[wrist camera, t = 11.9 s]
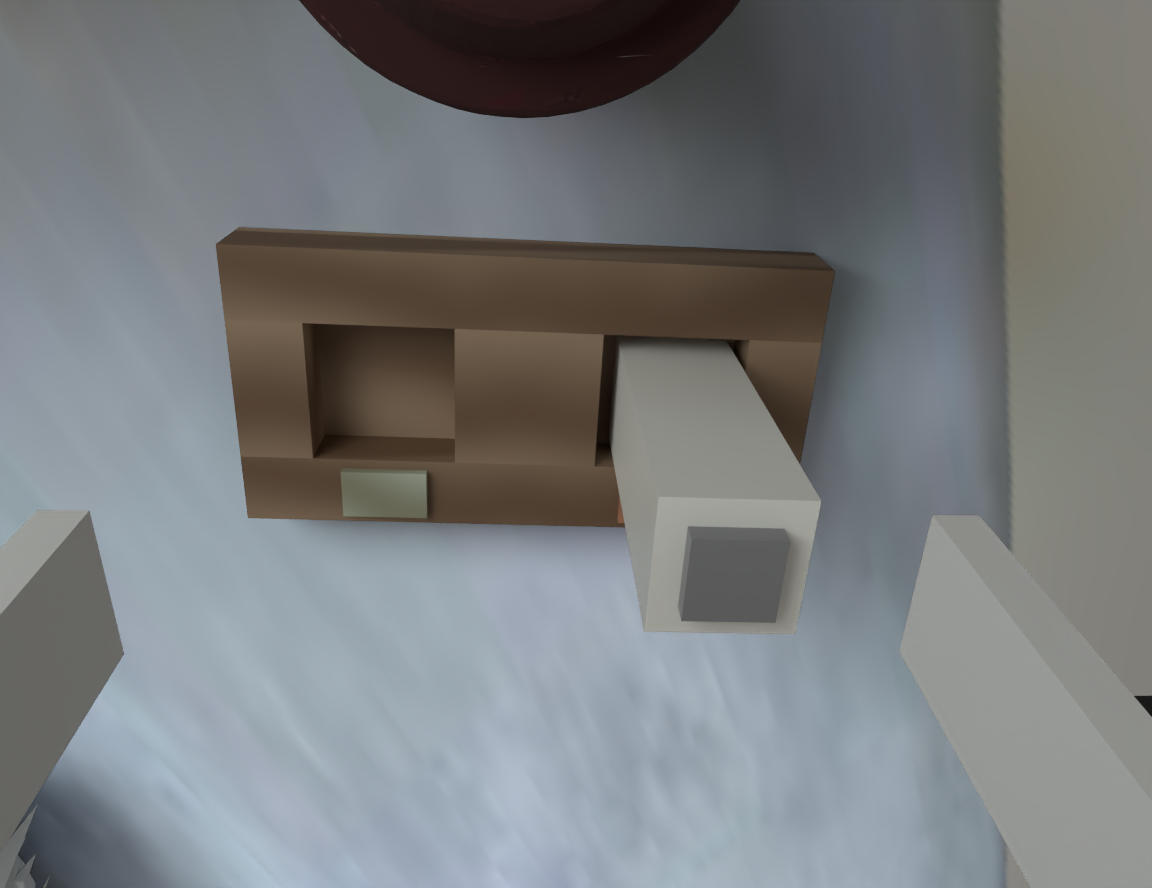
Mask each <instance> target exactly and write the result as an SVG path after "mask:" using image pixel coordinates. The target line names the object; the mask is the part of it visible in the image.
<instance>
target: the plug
mask: <svg viewBox="0 0 1152 888" xmlns="http://www.w3.org/2000/svg"><path fill="white" fill-rule="evenodd" d="M609 441H610V446H611V452H612V457H613V463H614V468H615V474H616V479H617V485H618V490H619V496H620V501H621V507H622V512H623V518H624V523H625V529H626V534H627V540H628V545H629V551H630V556H631V562H632V567H633V573H634V578H635V584H636V589H637V595H638V600H639V606H640V611H641V617H642V622H643V628H644V632H694V633H753V634H795V633H796V628H797V623H798V618H799V613H800V608H801V603H802V598H803V593H804V588H805V582H806V577H807V572H808V567H809V562H810V557H811V552H812V547H813V542H814V537H815V532H816V526H817V521H818V516H819V511H820V506H821V499H820V498H819V496H818V494H817V493H816V491H815V489H814V488H813V486H812V484H811V483H810V481H809V479H808V478H807V476H806V474H805V472H804V471H803V469H802V467H801V466H800V464H799V462H798V461H797V459H796V457H795V456H794V454H793V452H792V451H791V449H790V447H789V445H788V444H787V442H786V440H785V439H784V437H783V435H782V434H781V432H780V430H779V429H778V427H777V425H776V424H775V422H774V420H773V418H772V417H771V415H770V413H769V412H768V410H767V408H766V407H765V405H764V403H763V402H762V400H761V398H760V397H759V395H758V393H757V391H756V390H755V388H754V386H753V385H752V383H751V381H750V380H749V378H748V376H747V375H746V373H745V371H744V370H743V368H742V366H741V364H740V363H739V361H738V359H737V358H736V356H735V354H734V353H733V351H732V349H731V348H730V346H729V344H728V343H727V341H726V340H722V339H696V338H669V337H643V336H616V347H615V360H614V373H613V386H612V399H611V412H610V425H609Z"/></svg>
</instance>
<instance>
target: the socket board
mask: <svg viewBox="0 0 1152 888" xmlns="http://www.w3.org/2000/svg"><path fill="white" fill-rule="evenodd" d="M216 250H217V259H218V267H219V276H220V284H221V293H222V301H223V310H224V318H225V327H226V335H227V344H228V352H229V361H230V369H231V378H232V386H233V395H234V403H235V412H236V420H237V429H238V437H239V446H240V454H241V463H242V471H243V480H244V488H245V497H246V505H247V514H248V518H270V519H310V520H351V521H392V522H433V523H473V524H514V525H555V526H596V527H625V523H624V518H623V512H622V507H621V501H620V496H619V490H618V485H617V479H616V474H615V468H614V463H613V457H612V452H611V446H610V441H609V425H610V412H611V399H612V386H613V373H614V360H615V347H616V336H643V337H669V338H696V339H722V340H726V341H727V343H728V344H729V346H730V348H731V349H732V351H733V353H734V354H735V356H736V358H737V359H738V361H739V363H740V364H741V366H742V368H743V370H744V371H745V373H746V375H747V376H748V378H749V380H750V381H751V383H752V385H753V386H754V388H755V390H756V391H757V393H758V395H759V397H760V398H761V400H762V402H763V403H764V405H765V407H766V408H767V410H768V412H769V413H770V415H771V417H772V418H773V420H774V422H775V424H776V425H777V427H778V429H779V430H780V432H781V434H782V435H783V437H784V439H785V440H786V442H787V444H788V445H789V447H790V449H791V451H792V452H793V454H794V456H795V457H796V459H797V461H798V462H799V464H800V461H801V456H802V450H803V444H804V439H805V433H806V428H807V422H808V417H809V411H810V406H811V400H812V395H813V389H814V384H815V378H816V373H817V367H818V362H819V356H820V351H821V345H822V340H823V334H824V329H825V323H826V318H827V312H828V307H829V301H830V296H831V290H832V285H833V279H834V273H835V271H834V270H833V269H832V268H831V267H830V266H828V265H827V264H826V263H825V262H824V261H823V260H821V259H820V258H819V257H818V256H817V255H816V254H814V253H806V252H783V251H761V250H739V249H716V248H694V247H671V246H649V245H627V244H604V243H582V242H559V241H537V240H515V239H492V238H470V237H447V236H425V235H403V234H380V233H358V232H335V231H313V230H290V229H268V228H246V227H239V228H237V229H236V230H234V231H233V232H232V233H230V234H229V235H228V236H226V237H225V238H224V239H222V240H221V241H219V242H218V243H217V244H216Z"/></svg>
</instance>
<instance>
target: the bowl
mask: <svg viewBox="0 0 1152 888" xmlns="http://www.w3.org/2000/svg"><path fill="white" fill-rule="evenodd" d="M37 805H38V804H37ZM37 805H36V807H35V808H34V809H33V810H32V812H31V813H30V814H29V815H28V817H27V818H26V819H25V820H24V822H23V823H22V824H21V825H20V827H19V828H18V829H17V830H16V832H15V833H14V834H13V835H12V837H11V838H10V839H9V841H8V843H7V844H6V846H5V847H4V849H3V851H2V852H1V854H0V888H35V885H36V883H35V882H34V880H33V878H32V876H31V875H30V870H31V867H32V864H33V862H34V859H35V856H36V854H35V855H34V856H33V857H32V858H31V859H30V860H29V861H28V862H27V863H26V864H25V863H24V862H23V861H22V860H21V858H20V857H19V856H18V853H19V851H20V849H21V847H22V845H23V843H24V841H25V839H26V837H27V836H26V837H25V835H26V833H27V830H28V828H29V825H30V823H31V820H32V818H33V815H34V813H35V810H36V808H37ZM27 835H28V834H27ZM49 877H50V876H49ZM48 880H49V878H48ZM48 880H47V881H46V883H45V885H44V886H43V888H46V885H47V882H48Z"/></svg>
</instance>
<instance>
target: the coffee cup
mask: <svg viewBox="0 0 1152 888" xmlns="http://www.w3.org/2000/svg"><path fill="white" fill-rule="evenodd" d="M299 1H300V2H301V3H302V4H303V5H304V7H305V8H306V9H307V10H308V11H309V12H310V13H311V15H312V16H313V17H314V18H315V19H316V20H317V22H318V23H319V24H320V25H321V26H322V27H323V28H324V29H325V30H326V31H327V32H328V33H329V34H330V35H331V36H333V37H334V38H335V39H336V40H337V41H338V42H339V43H340V44H341V45H342V46H343V47H344V48H346V49H347V50H348V51H349V52H351V53H352V54H353V55H354V56H356V57H357V58H358V59H359V60H360V61H362V62H363V63H364V64H365V65H367V66H368V67H370V68H371V69H373V70H374V71H376V72H377V73H379V74H381V75H382V76H384V77H385V78H387V79H388V80H390V81H392V82H394V83H396V84H398V85H400V86H402V87H404V88H406V89H408V90H410V91H412V92H414V93H416V94H419V95H421V96H423V97H426V98H428V99H430V100H433V101H435V102H438V103H441V104H444V105H447V106H450V107H453V108H456V109H459V110H464V111H468V112H472V113H477V114H483V115H491V116H500V117H515V118H535V117H550V116H557V115H563V114H569V113H575V112H579V111H583V110H587V109H590V108H594V107H597V106H601V105H604V104H606V103H609V102H612V101H614V100H617V99H619V98H622V97H624V96H626V95H628V94H630V93H632V92H634V91H636V90H638V89H640V88H642V87H644V86H646V85H648V84H650V83H651V82H653V81H654V80H656V79H658V78H659V77H661V76H662V75H664V74H665V73H667V72H669V71H670V70H672V69H673V68H674V67H675V66H677V65H678V64H679V63H680V62H682V61H683V60H684V59H685V58H687V57H688V56H689V55H691V54H692V53H693V52H694V51H695V50H696V49H697V48H698V47H700V46H701V45H702V44H703V43H704V42H705V41H706V40H707V39H708V38H709V37H710V36H711V35H712V34H713V33H714V32H715V31H716V30H717V28H718V27H719V26H720V25H721V24H722V23H723V22H724V20H725V19H726V18H727V17H728V16H729V15H730V14H731V12H732V11H733V10H734V8H735V7H736V6H737V4H738V3H739V1H740V0H299Z"/></svg>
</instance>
